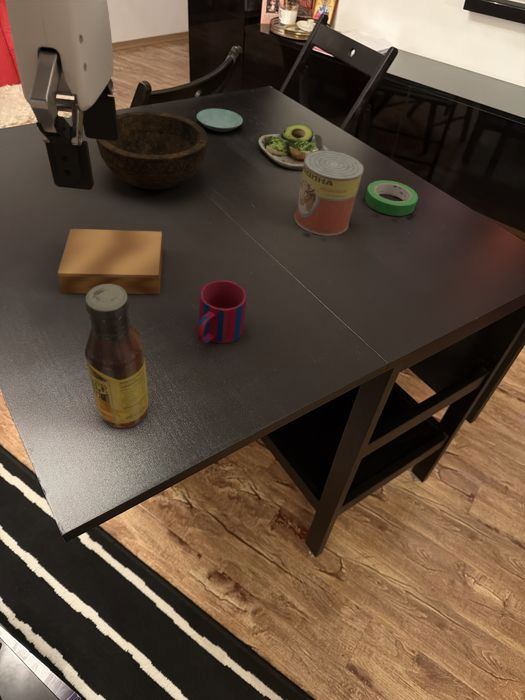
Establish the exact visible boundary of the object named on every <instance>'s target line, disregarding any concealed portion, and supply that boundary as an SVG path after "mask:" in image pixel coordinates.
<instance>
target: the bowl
mask: <svg viewBox="0 0 525 700" xmlns="http://www.w3.org/2000/svg"><path fill="white" fill-rule="evenodd" d="M116 115H117V124H118V133H119V137H118V139H117V140H116V141H110V140H101V139H95V141H96V144H97V148H98V151H99V155H100V157H101V159H102V160H103V162H104V163H105V165H106V167H107V168H108V169H109V170H110V171H111V172H112V173H113V174H114V175H115V176H116V177H117V178H118V179H120V180H121V181H123V182H125V183H127V184H129V185H131V186H134V187H135V188H136V187H137V188H139V189H140V188H141V189H145V190H166V189H167V190H168V189H172V188H175V187H178V186H180V185H183V184H184V183H186V182H188V181H189V180H191V179H192V178H193V177H194V175H195V174H197V172H198V171H199V169H200V168H201V166H202V164H203V162H204V160H205V156H206V151H207V145H208V139H209V138H208V134H207V132H206V130H205V129H204V128H203V127H202V126H201V125H200V124H198V123H196V122H195V121H193V120H191V119H189V118H187V117H184V116H180V115H177V114H173V113H168V112H162V111H161V112H160V111H147V110H146V111H131V112H124V113H120V114H116Z"/></svg>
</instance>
